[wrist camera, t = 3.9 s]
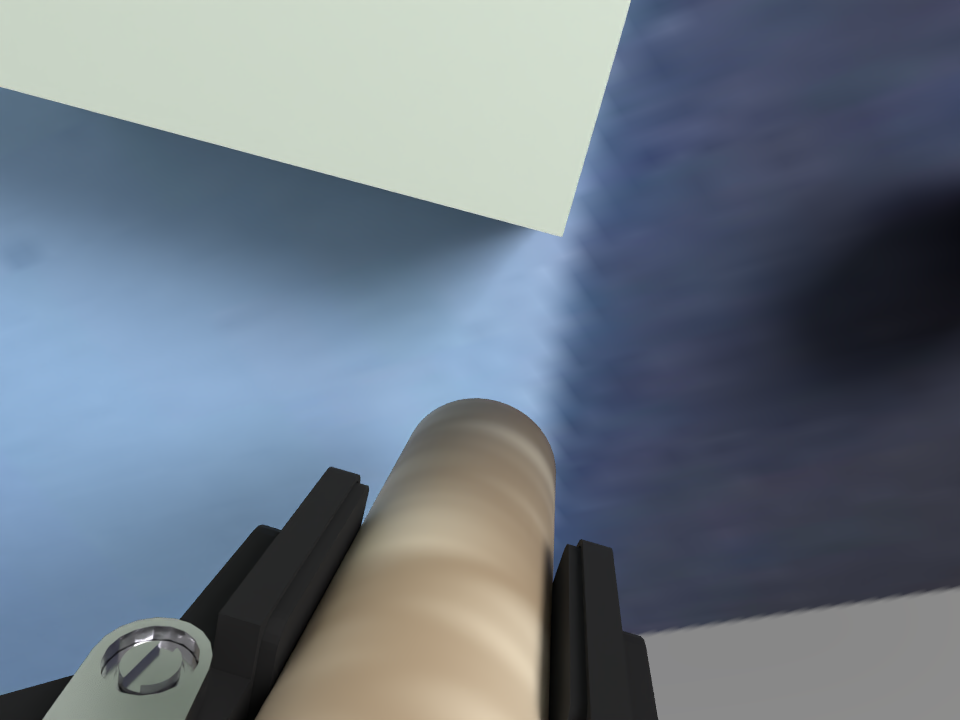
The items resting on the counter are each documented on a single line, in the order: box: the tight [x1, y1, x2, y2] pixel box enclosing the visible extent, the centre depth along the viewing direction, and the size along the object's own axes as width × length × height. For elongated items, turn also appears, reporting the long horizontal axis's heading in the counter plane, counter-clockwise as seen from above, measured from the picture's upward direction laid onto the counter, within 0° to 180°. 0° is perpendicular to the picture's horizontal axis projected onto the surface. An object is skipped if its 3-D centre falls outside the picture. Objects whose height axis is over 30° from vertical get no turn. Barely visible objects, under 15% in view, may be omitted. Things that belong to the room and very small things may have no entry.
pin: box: [255, 398, 556, 720], centre depth 10 cm, size 4×4×12 cm
